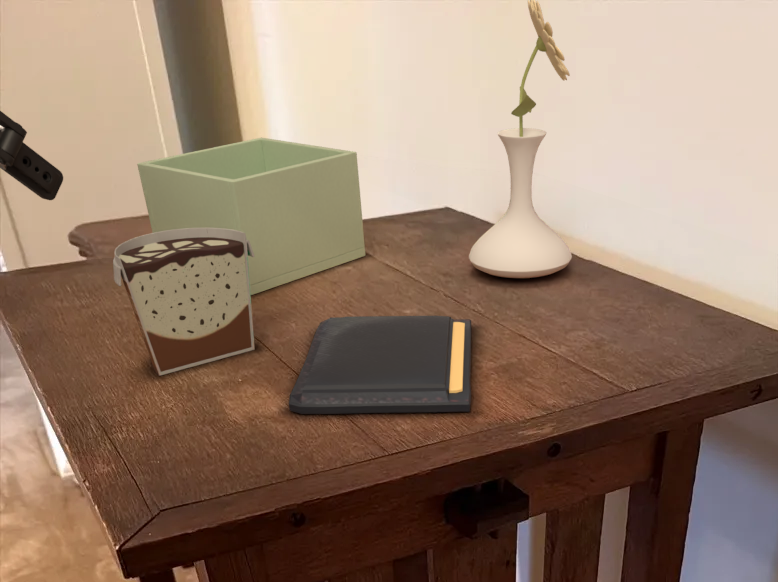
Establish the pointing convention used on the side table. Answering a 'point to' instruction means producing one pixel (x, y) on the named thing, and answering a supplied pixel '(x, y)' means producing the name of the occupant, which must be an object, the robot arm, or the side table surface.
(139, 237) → the food container
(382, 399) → the wallet
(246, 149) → the bin
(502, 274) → the flower in vase
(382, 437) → the side table surface
